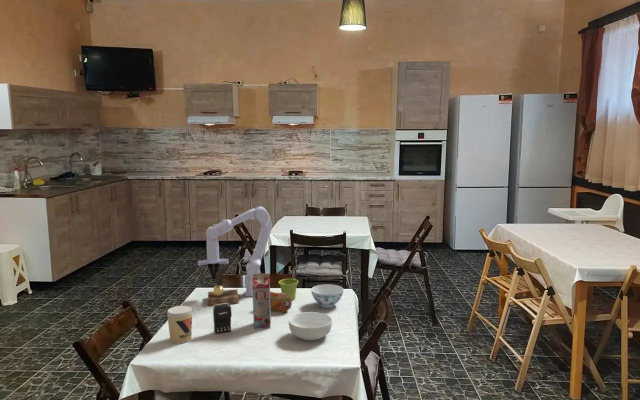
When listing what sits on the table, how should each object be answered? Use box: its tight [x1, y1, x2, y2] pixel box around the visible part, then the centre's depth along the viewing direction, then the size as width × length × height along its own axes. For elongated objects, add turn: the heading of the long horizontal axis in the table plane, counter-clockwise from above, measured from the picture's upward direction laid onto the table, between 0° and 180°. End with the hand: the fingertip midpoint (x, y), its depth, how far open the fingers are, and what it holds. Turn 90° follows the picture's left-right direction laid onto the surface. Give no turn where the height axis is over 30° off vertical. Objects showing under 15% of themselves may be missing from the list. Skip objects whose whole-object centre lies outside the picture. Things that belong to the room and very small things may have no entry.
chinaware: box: [310, 283, 345, 309], centre depth 213 cm, size 15×15×8 cm
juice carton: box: [252, 273, 272, 330], centre depth 189 cm, size 7×7×22 cm
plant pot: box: [278, 278, 299, 301], centre depth 222 cm, size 9×9×9 cm
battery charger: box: [212, 303, 233, 335], centre depth 183 cm, size 7×4×11 cm, turn 114°
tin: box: [270, 291, 293, 313], centre depth 207 cm, size 15×3×8 cm, turn 68°
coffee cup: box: [166, 305, 193, 345], centre depth 176 cm, size 9×9×12 cm
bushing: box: [213, 284, 224, 297], centre depth 221 cm, size 4×4×7 cm
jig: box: [207, 289, 240, 307], centre depth 221 cm, size 14×12×3 cm
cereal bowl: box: [288, 311, 333, 342], centre depth 178 cm, size 17×17×7 cm
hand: (214, 278), depth 225 cm, fingers closed
